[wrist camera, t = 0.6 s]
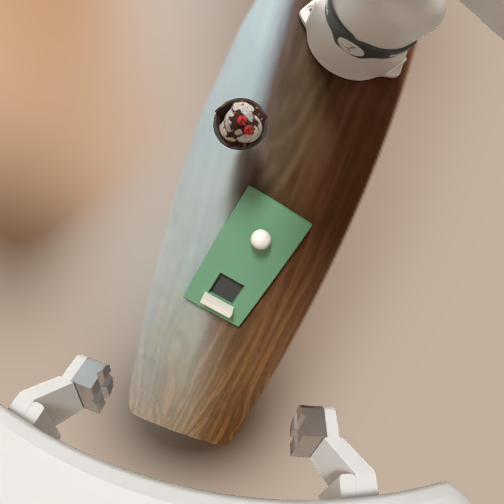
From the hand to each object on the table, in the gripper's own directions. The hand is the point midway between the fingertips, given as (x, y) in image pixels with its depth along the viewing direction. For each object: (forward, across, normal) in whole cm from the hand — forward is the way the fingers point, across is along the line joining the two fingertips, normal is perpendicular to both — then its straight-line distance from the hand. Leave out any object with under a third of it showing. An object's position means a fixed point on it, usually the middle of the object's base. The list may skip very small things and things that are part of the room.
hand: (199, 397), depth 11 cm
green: (+39, 0, +12) cm, 41 cm away
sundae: (+39, +3, -11) cm, 41 cm away
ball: (+36, -2, +6) cm, 37 cm away
